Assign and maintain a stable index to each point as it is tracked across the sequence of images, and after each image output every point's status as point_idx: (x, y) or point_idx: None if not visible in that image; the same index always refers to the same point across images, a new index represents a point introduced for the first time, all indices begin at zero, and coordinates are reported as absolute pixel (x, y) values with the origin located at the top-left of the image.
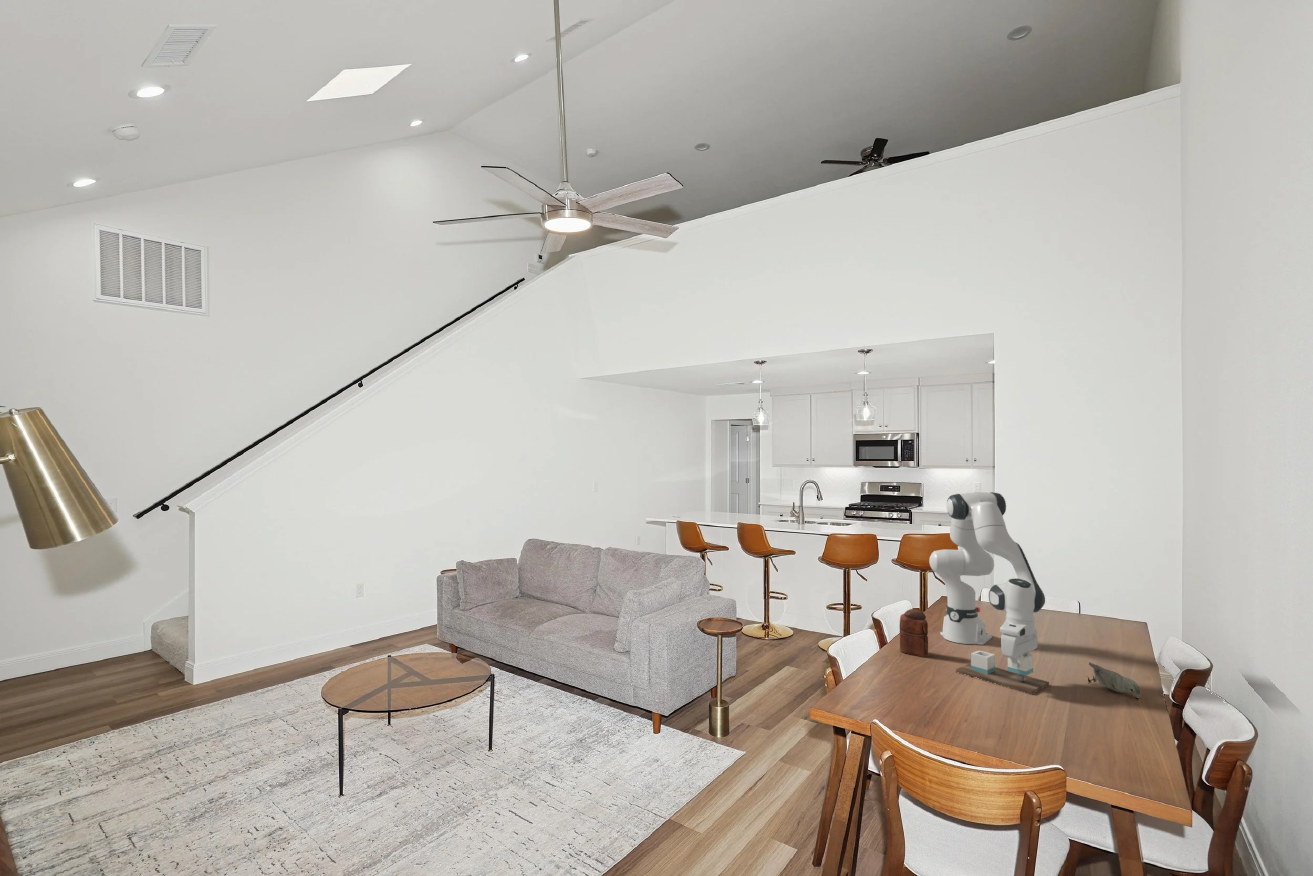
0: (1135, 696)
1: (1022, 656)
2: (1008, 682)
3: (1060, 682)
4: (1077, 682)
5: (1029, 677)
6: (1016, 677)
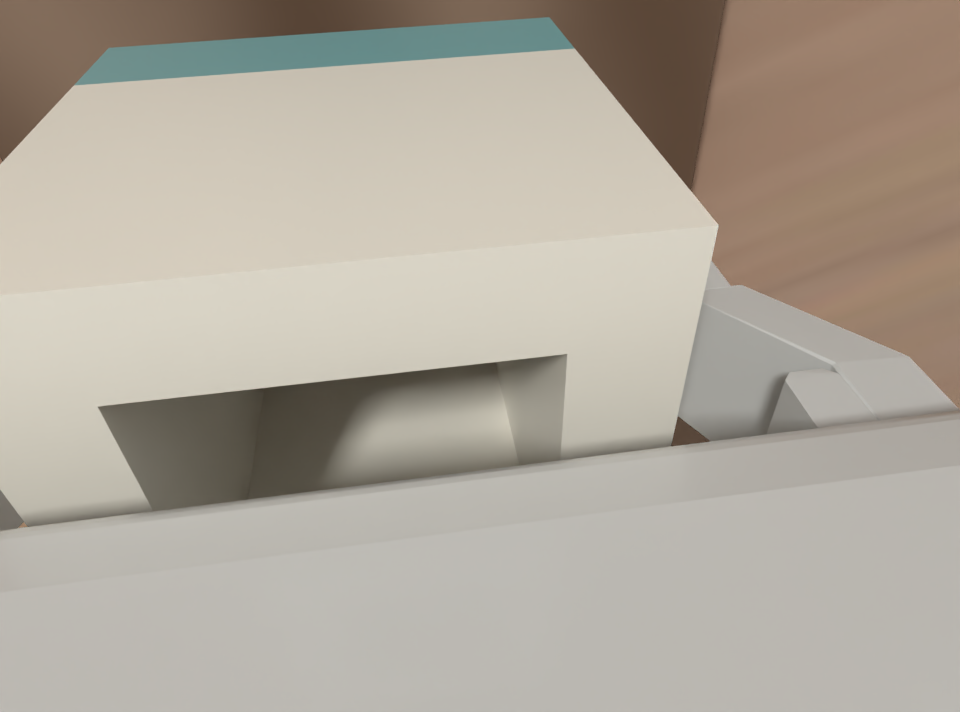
0: None
1: (538, 414)
2: (66, 68)
3: (853, 330)
4: (956, 398)
5: (658, 138)
6: (474, 10)
